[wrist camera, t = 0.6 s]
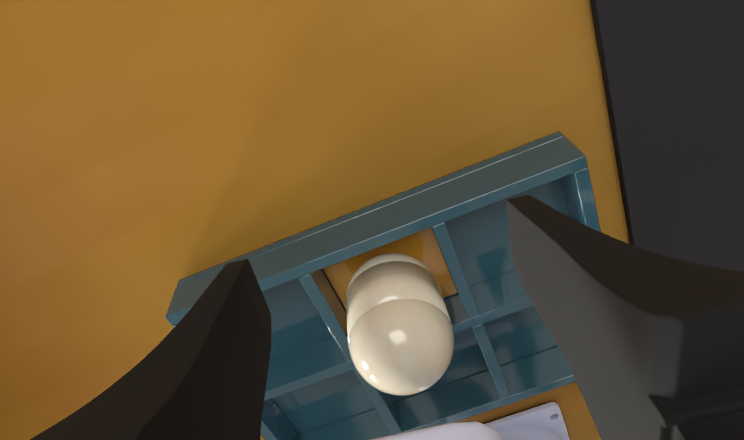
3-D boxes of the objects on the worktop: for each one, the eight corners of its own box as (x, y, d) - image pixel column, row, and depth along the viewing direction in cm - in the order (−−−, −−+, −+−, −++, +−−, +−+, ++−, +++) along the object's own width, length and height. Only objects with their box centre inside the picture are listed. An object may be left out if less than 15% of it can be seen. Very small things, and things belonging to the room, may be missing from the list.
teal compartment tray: (603, 328, 31) (627, 364, 28) (295, 434, 33) (293, 476, 31) (559, 130, 24) (586, 155, 22) (178, 279, 26) (164, 317, 24)
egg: (443, 288, 27) (479, 397, 21) (363, 317, 28) (376, 432, 22) (414, 221, 25) (446, 321, 19) (328, 254, 25) (332, 362, 19)
